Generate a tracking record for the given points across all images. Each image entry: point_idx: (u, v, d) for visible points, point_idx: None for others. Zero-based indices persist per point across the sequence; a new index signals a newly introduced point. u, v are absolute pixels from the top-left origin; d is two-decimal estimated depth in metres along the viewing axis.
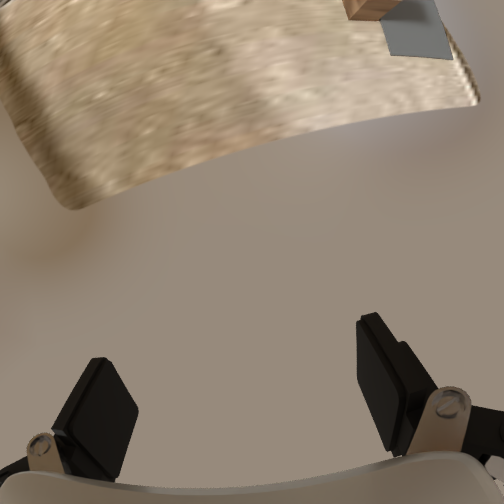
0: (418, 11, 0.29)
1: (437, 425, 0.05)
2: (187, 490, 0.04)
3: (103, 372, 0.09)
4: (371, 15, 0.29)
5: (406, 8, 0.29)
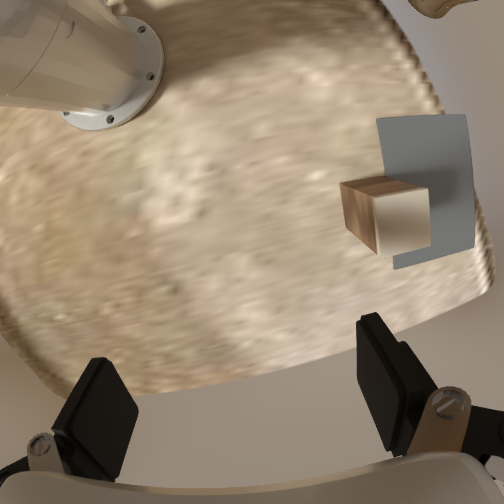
0: (446, 185, 0.28)
1: (437, 425, 0.05)
2: (187, 490, 0.04)
3: (103, 372, 0.09)
4: None
5: (431, 185, 0.28)
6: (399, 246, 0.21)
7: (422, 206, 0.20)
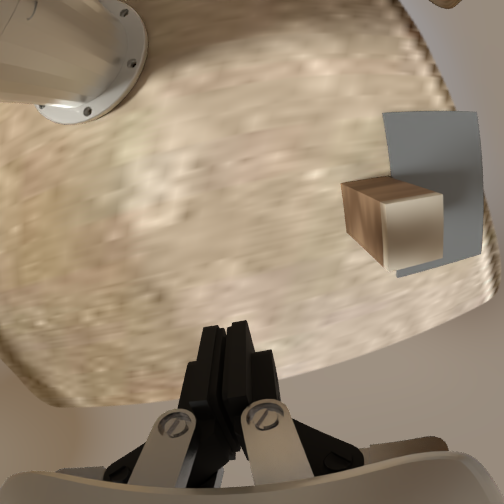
0: (455, 187, 0.25)
1: (264, 438, 0.06)
2: (187, 490, 0.04)
3: (222, 339, 0.10)
4: None
5: (439, 187, 0.25)
6: (409, 258, 0.18)
7: (436, 214, 0.17)
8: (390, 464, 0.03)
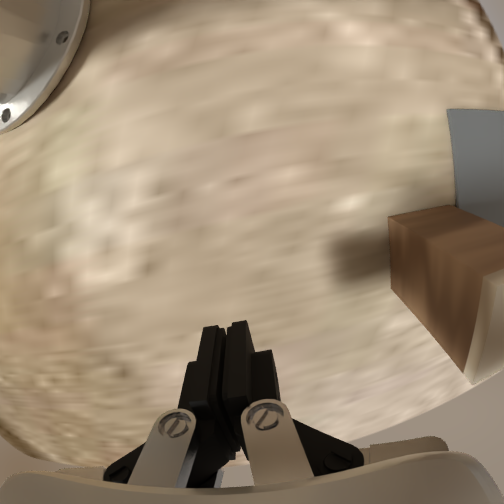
0: None
1: (264, 438, 0.06)
2: (187, 490, 0.04)
3: (222, 339, 0.10)
4: None
5: None
6: (502, 360, 0.08)
7: None
8: (390, 464, 0.03)
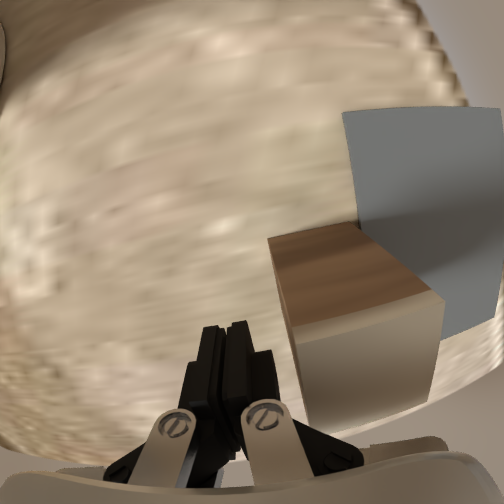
0: (466, 230, 0.16)
1: (264, 438, 0.06)
2: (187, 490, 0.04)
3: (222, 339, 0.10)
4: None
5: (441, 233, 0.16)
6: (355, 417, 0.09)
7: (424, 341, 0.08)
8: (390, 464, 0.03)
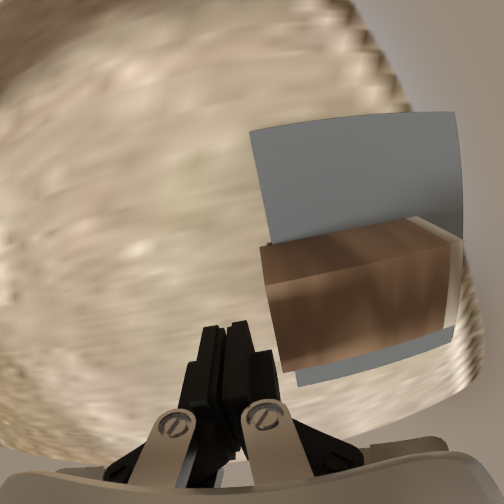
0: None
1: (264, 438, 0.06)
2: (187, 490, 0.04)
3: (223, 339, 0.10)
4: None
5: None
6: None
7: None
8: (390, 464, 0.03)
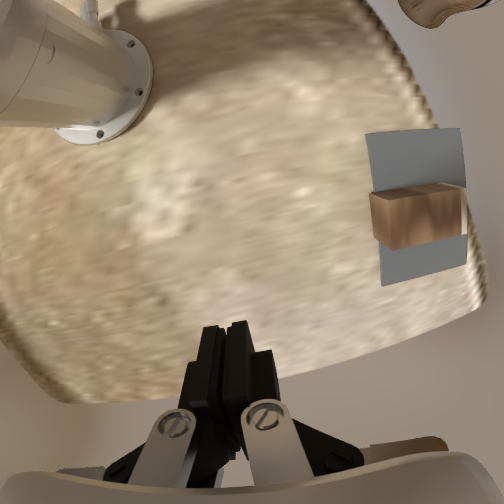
0: None
1: (264, 438, 0.06)
2: (187, 490, 0.04)
3: (222, 339, 0.10)
4: None
5: None
6: None
7: None
8: (390, 464, 0.03)
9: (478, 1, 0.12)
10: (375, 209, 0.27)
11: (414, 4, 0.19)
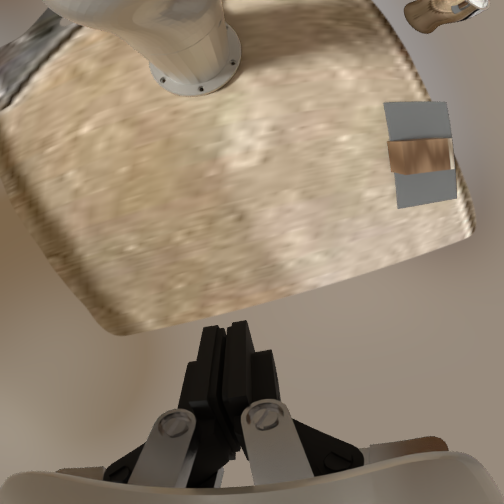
0: None
1: (264, 438, 0.06)
2: (187, 490, 0.04)
3: (222, 339, 0.10)
4: None
5: None
6: None
7: None
8: (390, 464, 0.03)
9: (458, 18, 0.23)
10: (392, 150, 0.38)
11: (416, 17, 0.30)
